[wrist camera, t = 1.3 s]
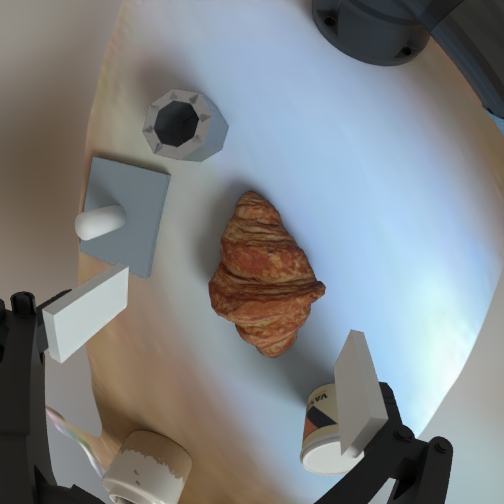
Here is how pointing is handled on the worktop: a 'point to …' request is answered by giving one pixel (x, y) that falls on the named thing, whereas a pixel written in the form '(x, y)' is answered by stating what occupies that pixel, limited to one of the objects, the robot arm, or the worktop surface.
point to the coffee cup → (324, 435)
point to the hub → (170, 122)
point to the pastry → (263, 278)
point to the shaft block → (122, 214)
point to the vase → (147, 470)
